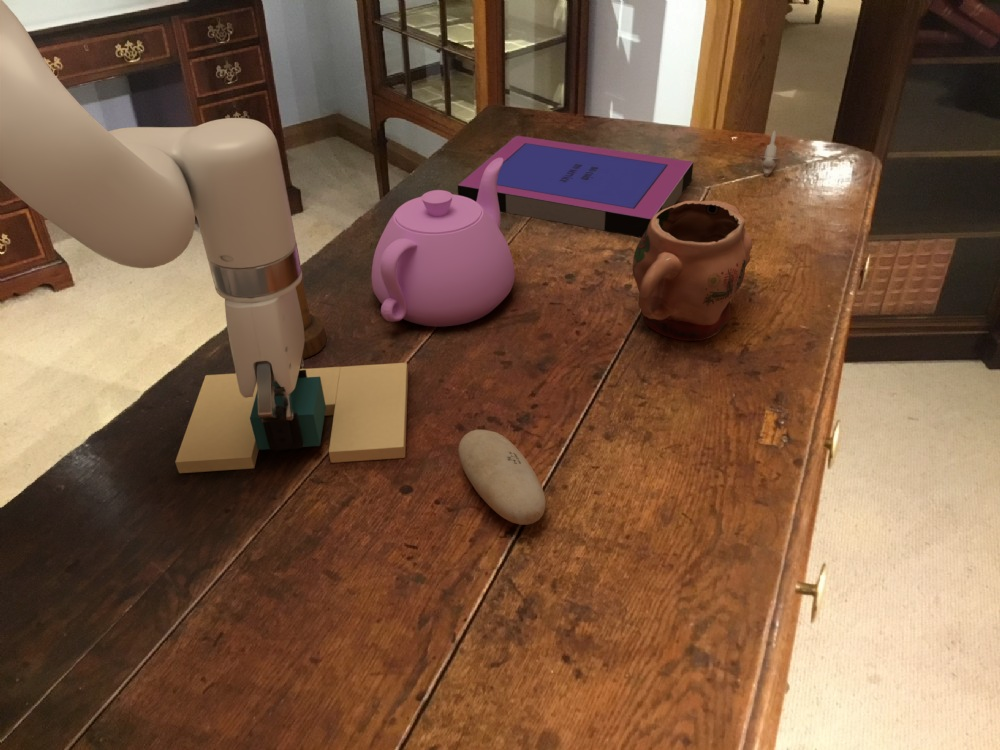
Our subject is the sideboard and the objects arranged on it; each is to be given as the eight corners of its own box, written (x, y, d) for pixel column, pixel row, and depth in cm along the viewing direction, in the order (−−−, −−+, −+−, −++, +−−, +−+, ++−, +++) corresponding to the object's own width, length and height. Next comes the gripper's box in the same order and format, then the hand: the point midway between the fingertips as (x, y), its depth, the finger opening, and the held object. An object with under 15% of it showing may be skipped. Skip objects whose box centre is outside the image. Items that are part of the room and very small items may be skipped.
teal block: (257, 449, 83) (249, 418, 80) (267, 410, 87) (259, 379, 85) (320, 446, 83) (313, 414, 80) (326, 407, 88) (320, 376, 85)
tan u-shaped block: (178, 473, 83) (174, 462, 82) (208, 385, 94) (205, 375, 93) (405, 458, 84) (403, 446, 83) (408, 373, 95) (406, 362, 94)
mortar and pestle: (267, 334, 102) (235, 195, 91) (322, 324, 103) (296, 186, 92) (273, 365, 97) (239, 222, 86) (330, 354, 98) (303, 211, 87)
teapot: (450, 361, 96) (442, 254, 88) (332, 318, 104) (314, 216, 96) (558, 265, 113) (560, 167, 105) (449, 234, 121) (442, 141, 113)
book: (516, 135, 142) (693, 161, 131) (516, 152, 144) (691, 180, 133) (457, 185, 127) (652, 219, 116) (458, 203, 129) (650, 239, 118)
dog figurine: (754, 184, 136) (756, 167, 131) (762, 140, 138) (765, 121, 132) (775, 187, 135) (778, 169, 130) (783, 141, 137) (786, 123, 132)
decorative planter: (696, 389, 91) (711, 275, 82) (594, 355, 96) (599, 246, 88) (760, 302, 104) (779, 197, 96) (667, 277, 110) (677, 175, 101)
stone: (494, 421, 83) (570, 458, 74) (488, 482, 85) (562, 526, 75) (442, 426, 80) (515, 465, 71) (438, 489, 82) (508, 536, 72)
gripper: (231, 223, 81) (266, 375, 92) (189, 323, 67) (238, 488, 78) (310, 219, 81) (337, 371, 92) (286, 317, 67) (320, 483, 78)
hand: (291, 423), depth 85 cm, fingers closed on teal block, 6 cm apart
